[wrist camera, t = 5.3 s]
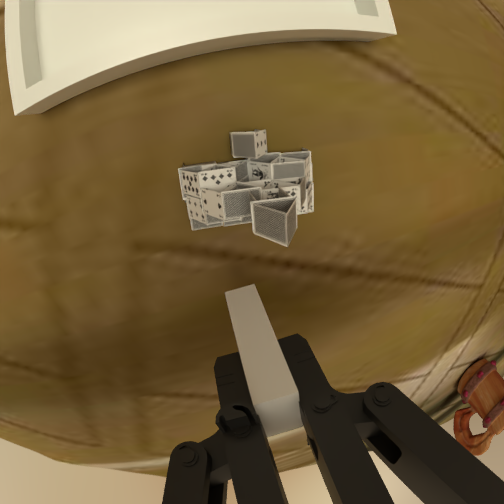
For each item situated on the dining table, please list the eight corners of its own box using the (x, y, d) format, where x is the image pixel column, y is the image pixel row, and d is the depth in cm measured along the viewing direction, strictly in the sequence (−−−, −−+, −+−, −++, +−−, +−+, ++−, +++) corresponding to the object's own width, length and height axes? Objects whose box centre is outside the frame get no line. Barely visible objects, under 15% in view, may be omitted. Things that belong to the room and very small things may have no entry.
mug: (478, 350, 35) (528, 408, 21) (492, 350, 37) (535, 401, 24) (425, 410, 40) (463, 469, 26) (444, 406, 42) (479, 457, 29)
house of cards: (325, 69, 14) (409, 53, 8) (329, 204, 18) (400, 259, 12) (169, 77, 13) (150, 45, 6) (188, 224, 17) (189, 300, 10)
